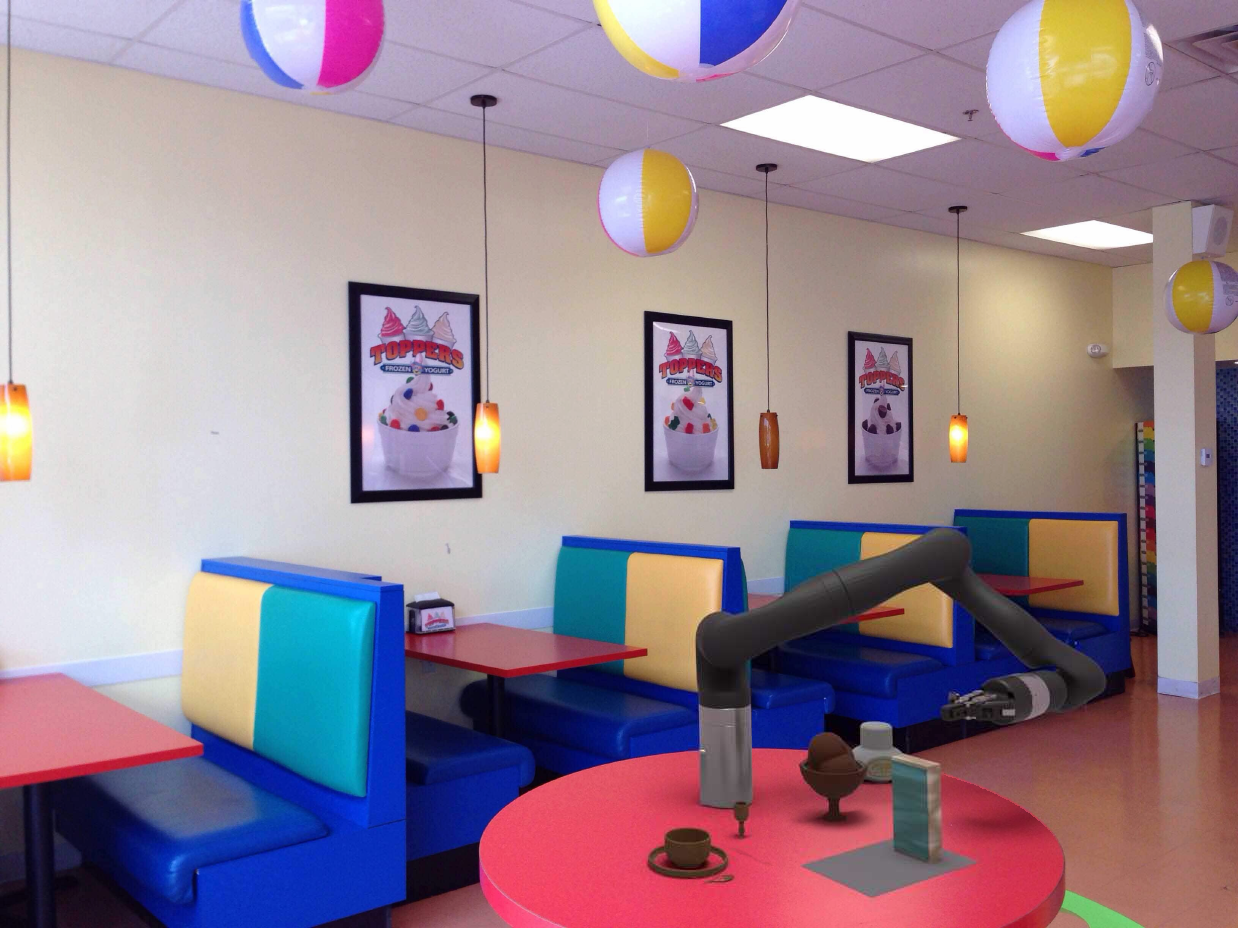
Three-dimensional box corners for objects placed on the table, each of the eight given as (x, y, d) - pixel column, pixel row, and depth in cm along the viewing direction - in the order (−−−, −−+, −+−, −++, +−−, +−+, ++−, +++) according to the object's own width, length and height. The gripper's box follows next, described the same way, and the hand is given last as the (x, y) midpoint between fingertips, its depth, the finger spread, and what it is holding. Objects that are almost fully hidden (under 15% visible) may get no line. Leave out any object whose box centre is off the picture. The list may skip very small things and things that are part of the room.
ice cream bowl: (870, 834, 163) (867, 740, 164) (799, 831, 166) (797, 738, 166) (867, 813, 174) (865, 724, 174) (801, 810, 176) (799, 722, 176)
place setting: (629, 852, 159) (628, 814, 159) (743, 835, 166) (743, 798, 166) (674, 894, 143) (673, 852, 143) (799, 873, 150) (799, 832, 150)
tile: (928, 863, 149) (926, 767, 149) (892, 849, 154) (890, 756, 155) (942, 859, 150) (940, 763, 150) (905, 845, 156) (903, 753, 156)
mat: (871, 903, 137) (871, 897, 137) (800, 870, 149) (800, 864, 149) (979, 866, 149) (978, 861, 149) (904, 839, 161) (904, 834, 161)
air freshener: (899, 770, 198) (897, 718, 199) (912, 783, 190) (911, 729, 190) (843, 772, 198) (842, 720, 198) (854, 785, 190) (853, 730, 190)
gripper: (980, 669, 176) (911, 683, 166) (1049, 681, 165) (979, 696, 155) (982, 713, 176) (912, 729, 166) (1051, 727, 164) (981, 746, 155)
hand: (945, 713), depth 161 cm, fingers closed
